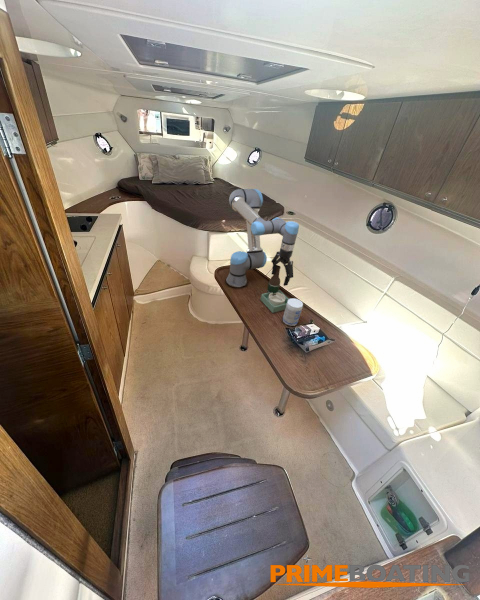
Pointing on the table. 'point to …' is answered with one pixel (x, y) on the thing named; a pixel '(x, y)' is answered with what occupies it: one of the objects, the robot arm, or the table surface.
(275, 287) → the brown glass bottle
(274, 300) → the cream ribbed bowl
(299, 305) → the supplement tub
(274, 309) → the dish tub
